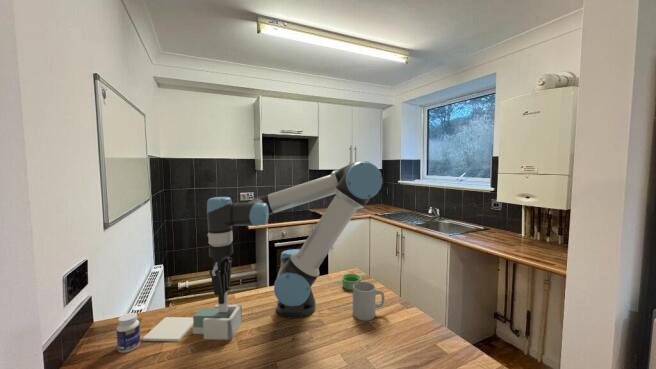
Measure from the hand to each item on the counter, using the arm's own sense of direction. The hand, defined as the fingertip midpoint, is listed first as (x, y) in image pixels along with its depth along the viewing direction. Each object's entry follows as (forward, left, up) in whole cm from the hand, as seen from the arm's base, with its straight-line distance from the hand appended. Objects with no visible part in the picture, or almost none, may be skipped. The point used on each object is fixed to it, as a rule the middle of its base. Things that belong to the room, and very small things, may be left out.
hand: (223, 310), depth 91 cm
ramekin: (-46, -34, -7) cm, 57 cm away
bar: (+4, 0, -4) cm, 6 cm away
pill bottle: (+26, +9, -7) cm, 29 cm away
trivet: (+18, 0, -7) cm, 19 cm away
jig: (+3, 0, -7) cm, 7 cm away
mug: (-51, -11, -7) cm, 52 cm away
